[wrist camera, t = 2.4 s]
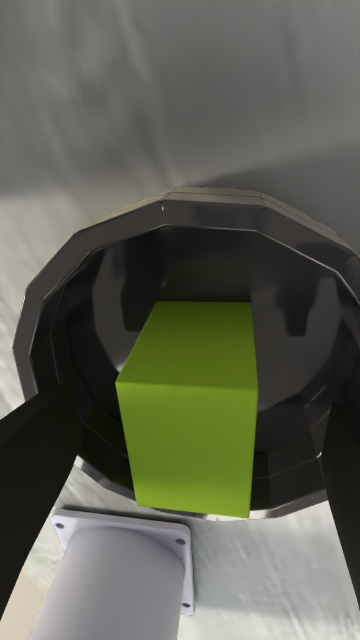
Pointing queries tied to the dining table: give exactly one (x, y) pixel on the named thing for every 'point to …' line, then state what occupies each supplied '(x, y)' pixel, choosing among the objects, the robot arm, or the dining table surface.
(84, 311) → the bowl
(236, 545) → the dining table surface
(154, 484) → the green block
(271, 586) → the dining table surface
